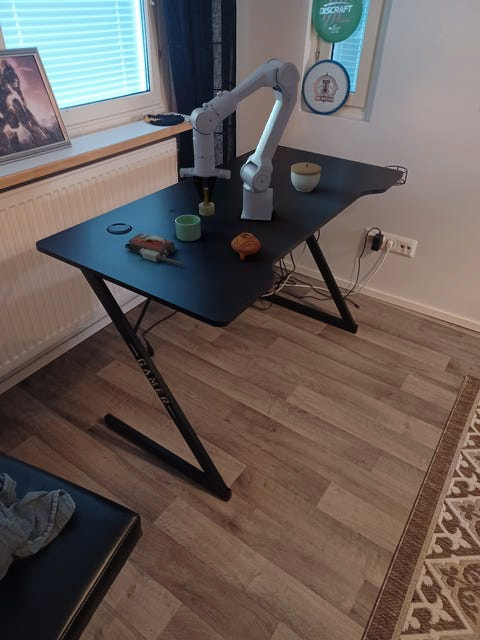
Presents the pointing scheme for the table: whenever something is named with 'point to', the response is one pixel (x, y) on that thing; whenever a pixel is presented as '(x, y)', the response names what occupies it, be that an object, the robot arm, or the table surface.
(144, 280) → the table surface
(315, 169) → the trinket box
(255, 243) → the pot
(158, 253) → the red grey blocky piece
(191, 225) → the bucket
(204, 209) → the rubber stamp
